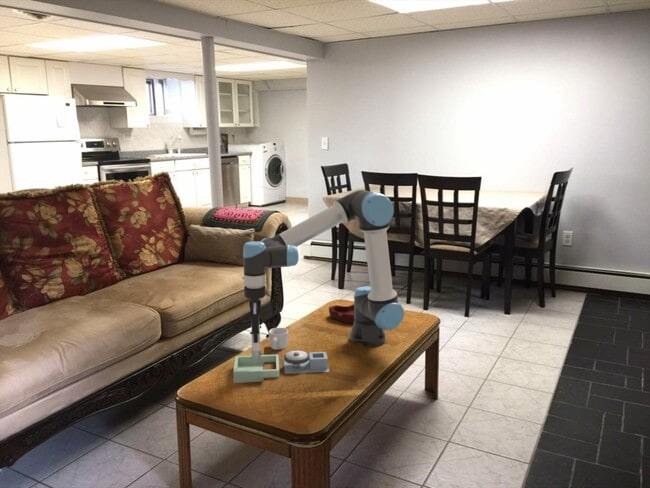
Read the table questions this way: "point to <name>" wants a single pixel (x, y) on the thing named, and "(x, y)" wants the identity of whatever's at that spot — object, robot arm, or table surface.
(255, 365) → the tray
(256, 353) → the dark capped cylinder
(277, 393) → the table surface
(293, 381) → the table surface
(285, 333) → the cup
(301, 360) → the block
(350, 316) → the ashtray
